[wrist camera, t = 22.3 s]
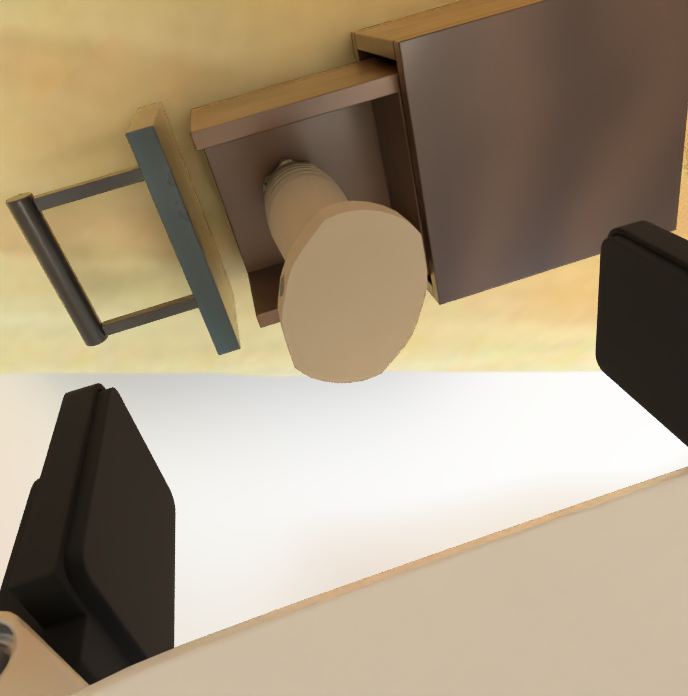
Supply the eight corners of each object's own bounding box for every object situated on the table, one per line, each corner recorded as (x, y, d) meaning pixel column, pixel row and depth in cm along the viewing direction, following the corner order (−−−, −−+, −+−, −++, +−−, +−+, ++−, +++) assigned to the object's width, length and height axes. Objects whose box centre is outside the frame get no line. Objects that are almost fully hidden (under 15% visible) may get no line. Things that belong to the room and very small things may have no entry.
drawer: (110, 331, 35) (94, 395, 30) (9, 144, 29) (-35, 179, 23) (406, 240, 37) (445, 284, 31) (370, 42, 30) (411, 51, 25)
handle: (240, 234, 33) (270, 379, 20) (256, 116, 30) (302, 199, 17) (322, 245, 34) (397, 386, 22) (345, 133, 31) (447, 221, 19)
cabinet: (392, 247, 38) (439, 305, 30) (350, 32, 31) (398, 41, 24) (586, 187, 38) (676, 230, 31) (587, -35, 32) (703, -45, 24)
